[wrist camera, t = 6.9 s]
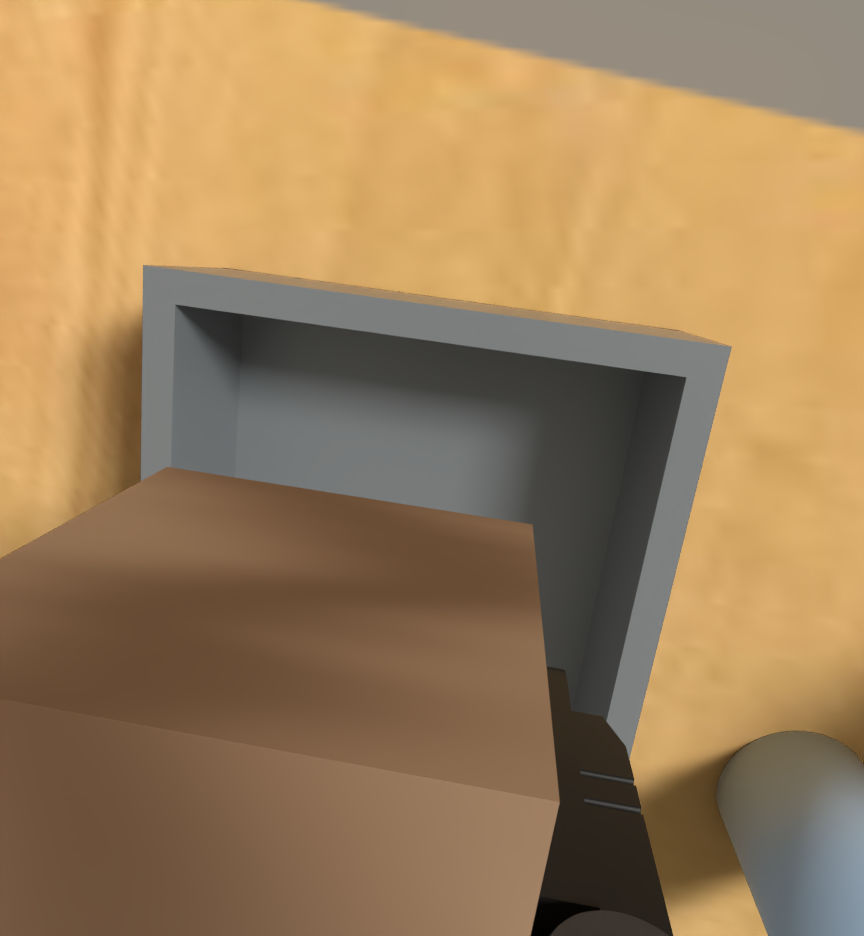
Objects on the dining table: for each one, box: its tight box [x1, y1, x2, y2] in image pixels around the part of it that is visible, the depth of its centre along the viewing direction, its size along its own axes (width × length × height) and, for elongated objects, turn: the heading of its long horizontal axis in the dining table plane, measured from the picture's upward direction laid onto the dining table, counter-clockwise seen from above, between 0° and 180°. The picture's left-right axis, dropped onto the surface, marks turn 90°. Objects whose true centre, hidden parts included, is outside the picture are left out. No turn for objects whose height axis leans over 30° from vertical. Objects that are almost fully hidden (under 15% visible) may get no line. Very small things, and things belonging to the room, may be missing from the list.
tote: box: [141, 265, 731, 758], centre depth 21 cm, size 14×18×5 cm
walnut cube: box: [0, 467, 560, 936], centre depth 8 cm, size 5×5×5 cm
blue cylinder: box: [716, 731, 864, 936], centre depth 20 cm, size 5×5×7 cm
